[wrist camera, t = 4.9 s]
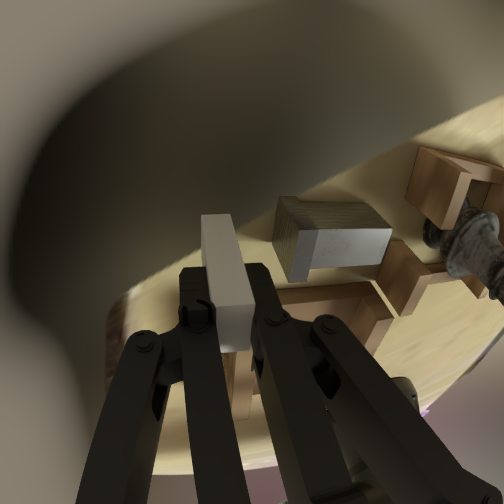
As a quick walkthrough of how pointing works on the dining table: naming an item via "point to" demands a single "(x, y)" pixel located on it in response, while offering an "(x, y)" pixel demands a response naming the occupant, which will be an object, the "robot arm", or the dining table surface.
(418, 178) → the socket frame
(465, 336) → the dining table surface
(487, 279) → the chess piece
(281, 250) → the bar
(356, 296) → the rack
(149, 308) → the dining table surface
